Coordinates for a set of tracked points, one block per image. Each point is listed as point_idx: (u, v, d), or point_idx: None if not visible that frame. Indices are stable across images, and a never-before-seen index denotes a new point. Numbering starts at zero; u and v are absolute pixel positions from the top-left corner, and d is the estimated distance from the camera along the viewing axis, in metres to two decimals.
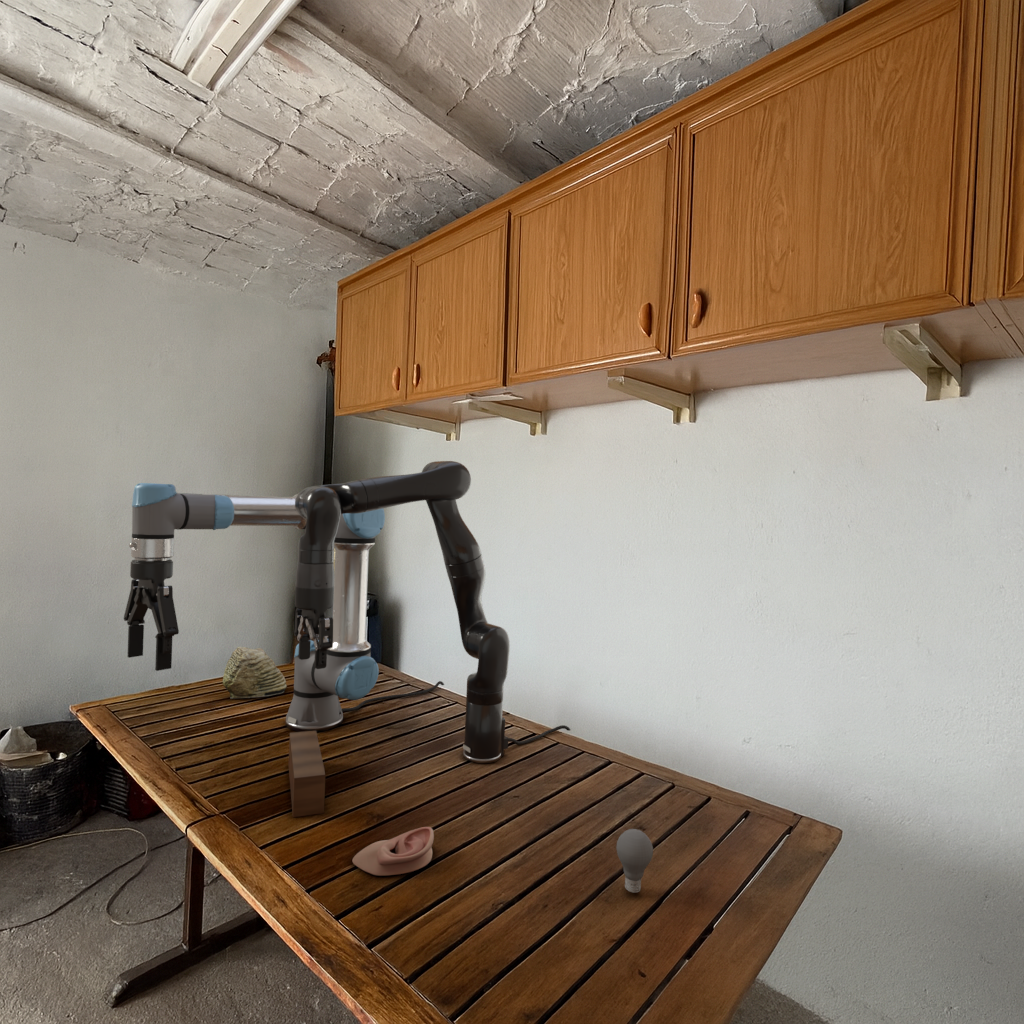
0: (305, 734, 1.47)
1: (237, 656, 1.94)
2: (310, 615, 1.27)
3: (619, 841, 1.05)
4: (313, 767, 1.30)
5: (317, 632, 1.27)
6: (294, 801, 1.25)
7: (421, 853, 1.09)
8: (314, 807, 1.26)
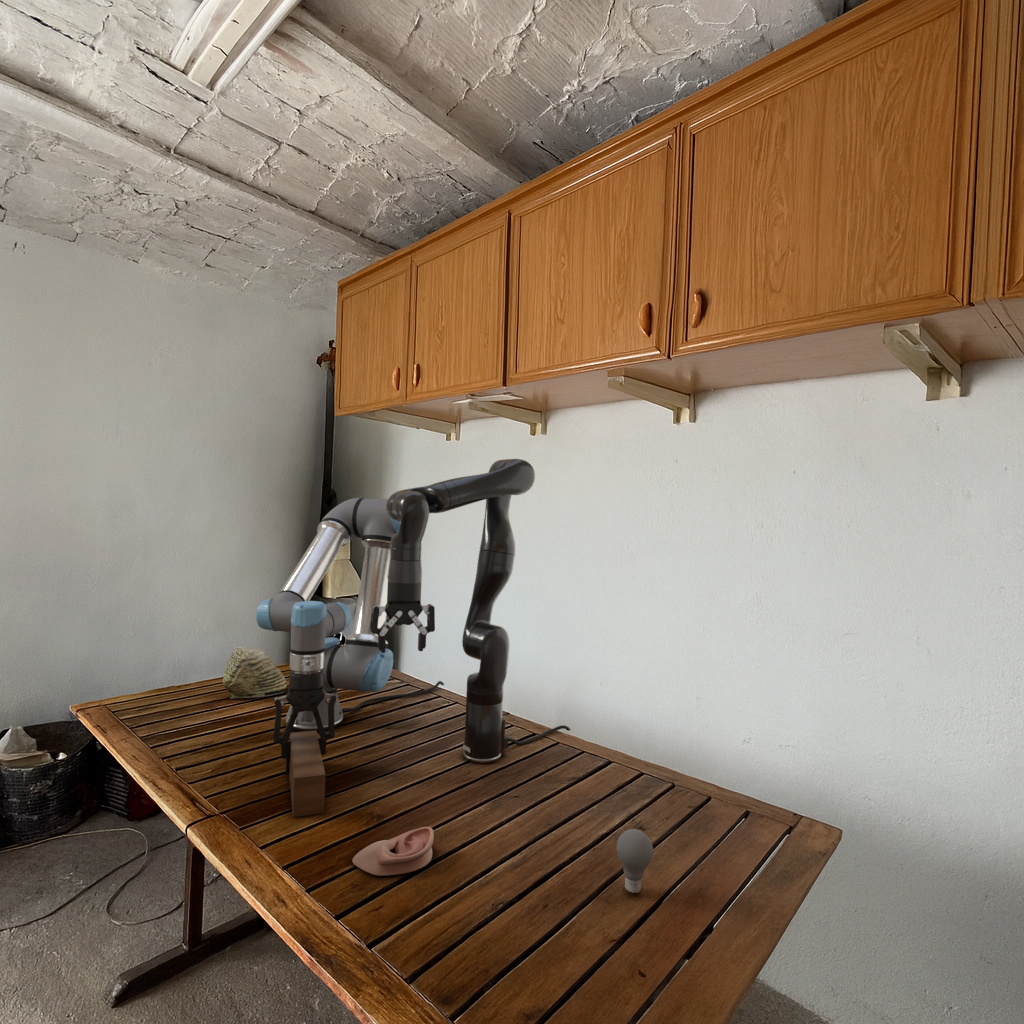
0: (305, 734, 1.47)
1: (237, 656, 1.94)
2: None
3: (619, 841, 1.05)
4: (313, 767, 1.30)
5: None
6: (294, 801, 1.25)
7: (421, 853, 1.09)
8: (314, 807, 1.26)
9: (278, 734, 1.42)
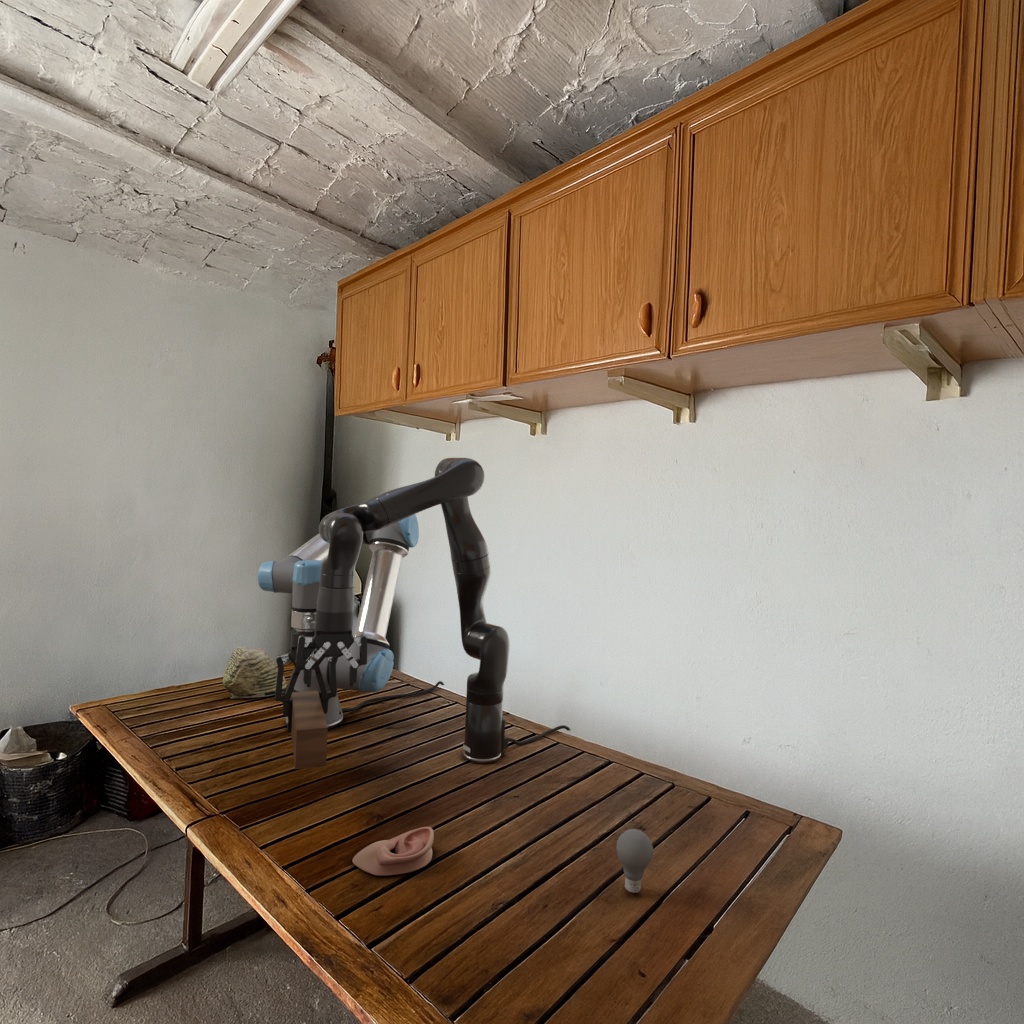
0: (307, 693, 1.47)
1: (237, 656, 1.94)
2: None
3: (619, 841, 1.05)
4: (315, 721, 1.30)
5: None
6: (296, 753, 1.25)
7: (421, 853, 1.09)
8: (316, 760, 1.26)
9: (280, 692, 1.42)
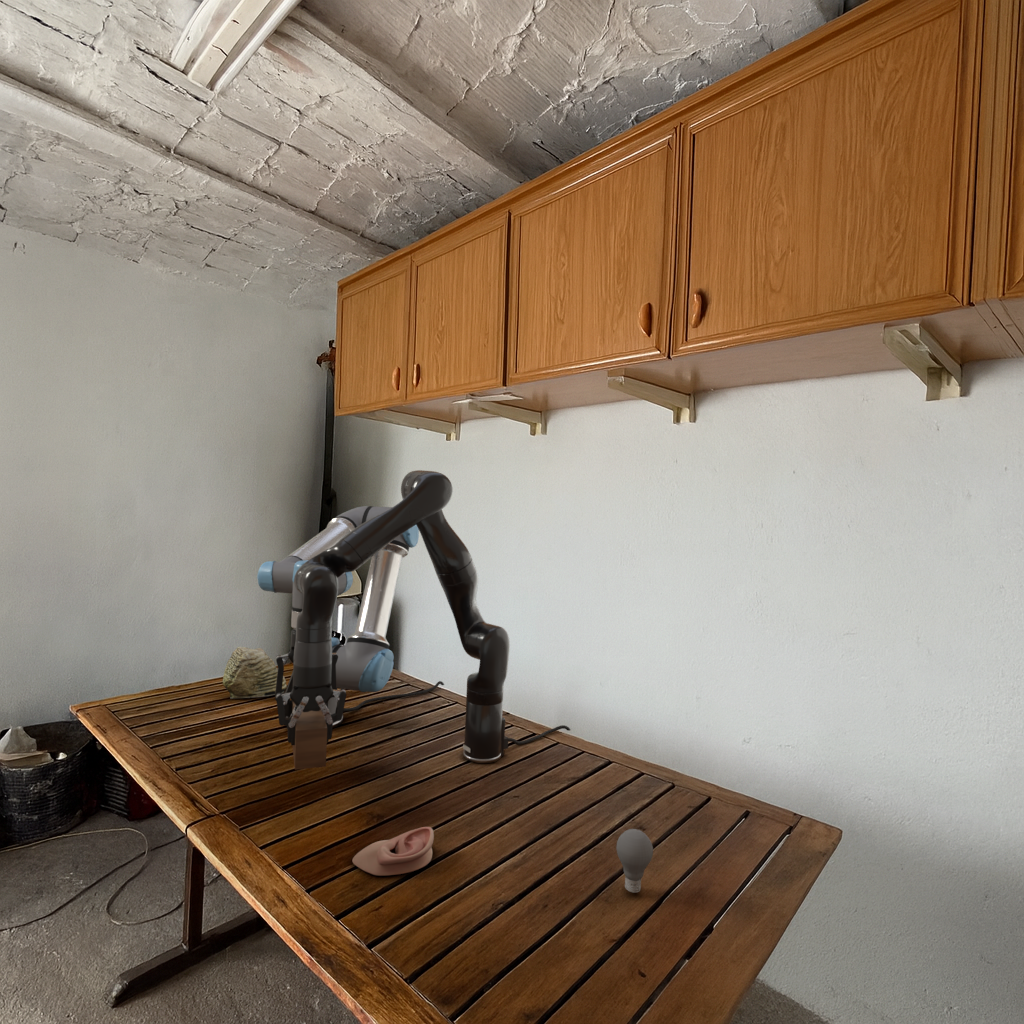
0: None
1: (237, 656, 1.94)
2: None
3: (619, 841, 1.05)
4: (315, 721, 1.30)
5: None
6: (296, 754, 1.25)
7: (421, 853, 1.09)
8: (316, 760, 1.26)
9: (280, 692, 1.42)
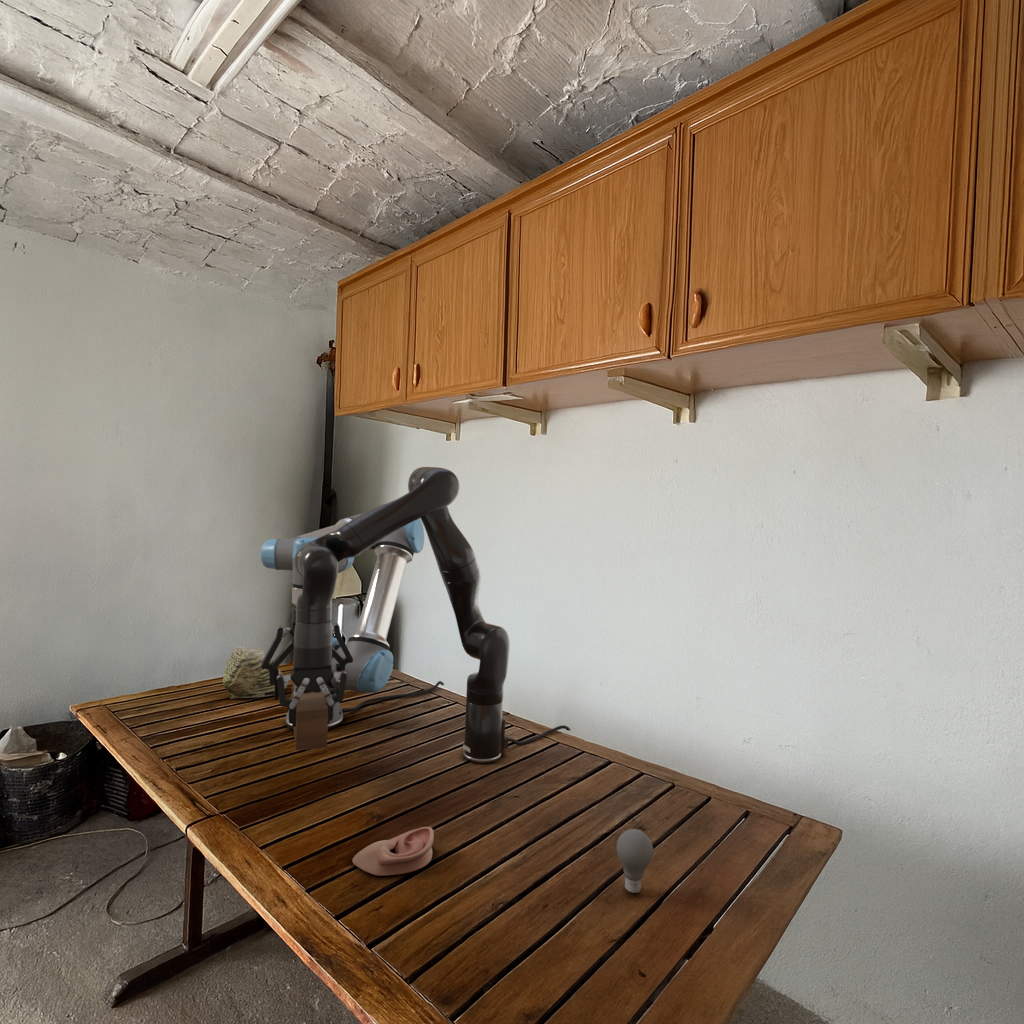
0: None
1: (237, 656, 1.94)
2: None
3: (619, 841, 1.05)
4: (316, 702, 1.30)
5: None
6: (297, 734, 1.25)
7: (421, 853, 1.09)
8: (317, 741, 1.26)
9: (268, 661, 1.43)
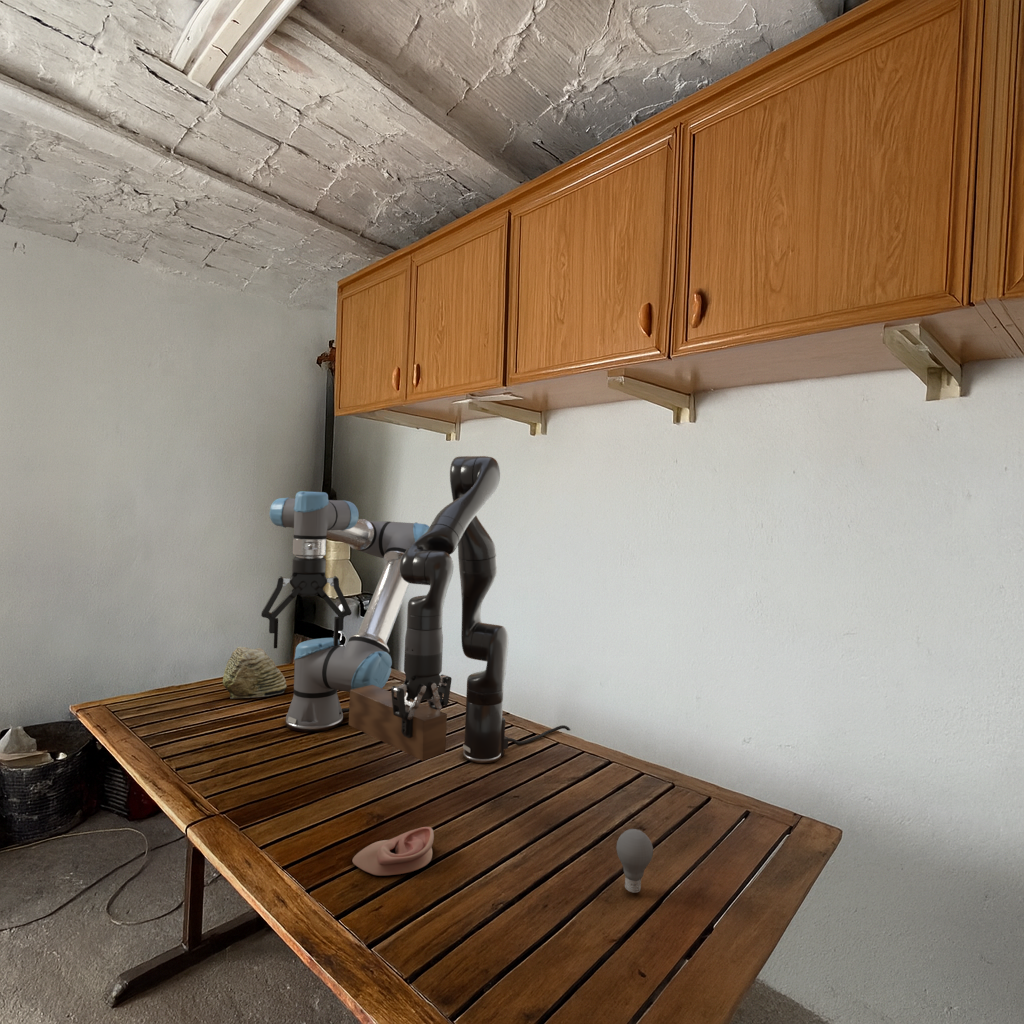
0: (368, 688, 1.39)
1: (237, 656, 1.94)
2: None
3: (619, 841, 1.05)
4: (425, 710, 1.27)
5: (411, 698, 1.25)
6: (424, 744, 1.22)
7: (421, 853, 1.09)
8: (438, 747, 1.25)
9: (268, 609, 1.46)
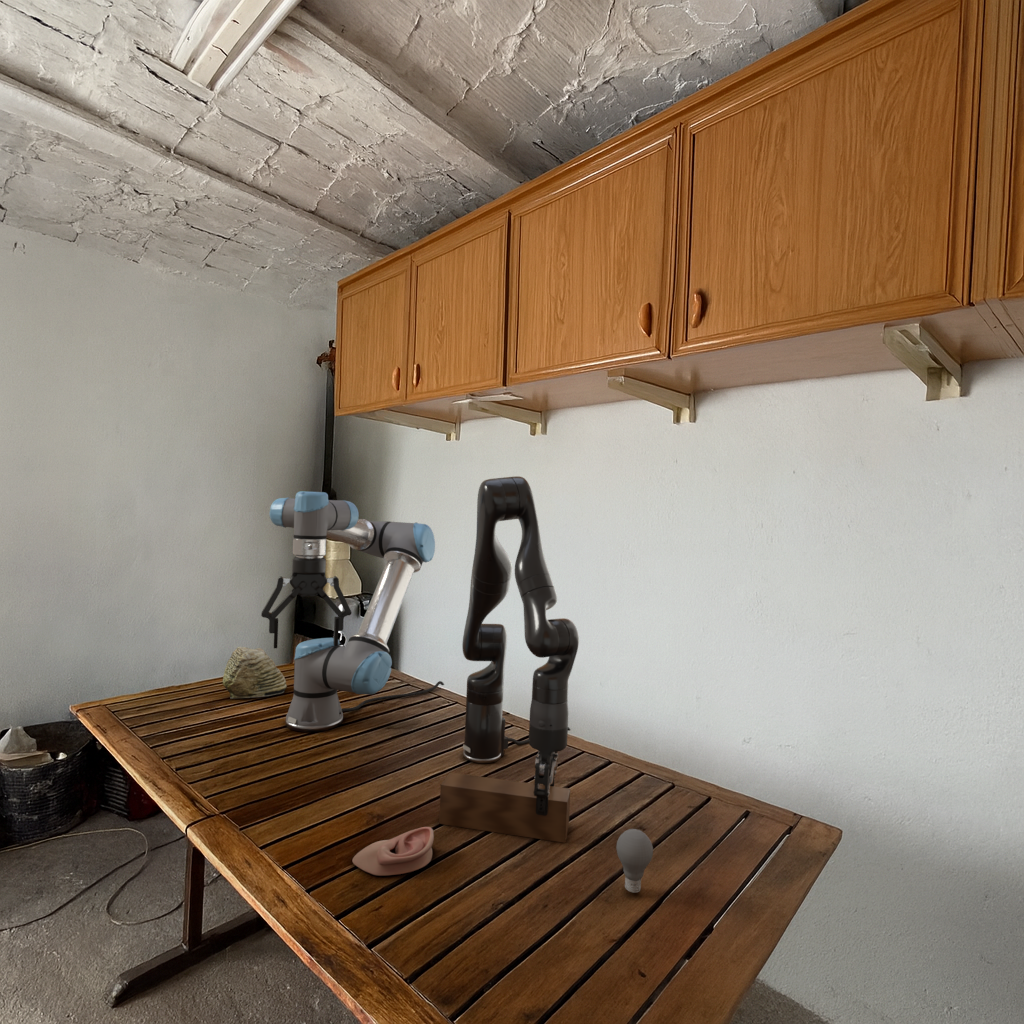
0: (455, 778, 1.28)
1: (237, 656, 1.94)
2: None
3: (619, 841, 1.05)
4: None
5: None
6: (566, 826, 1.20)
7: (421, 853, 1.09)
8: None
9: (268, 609, 1.46)
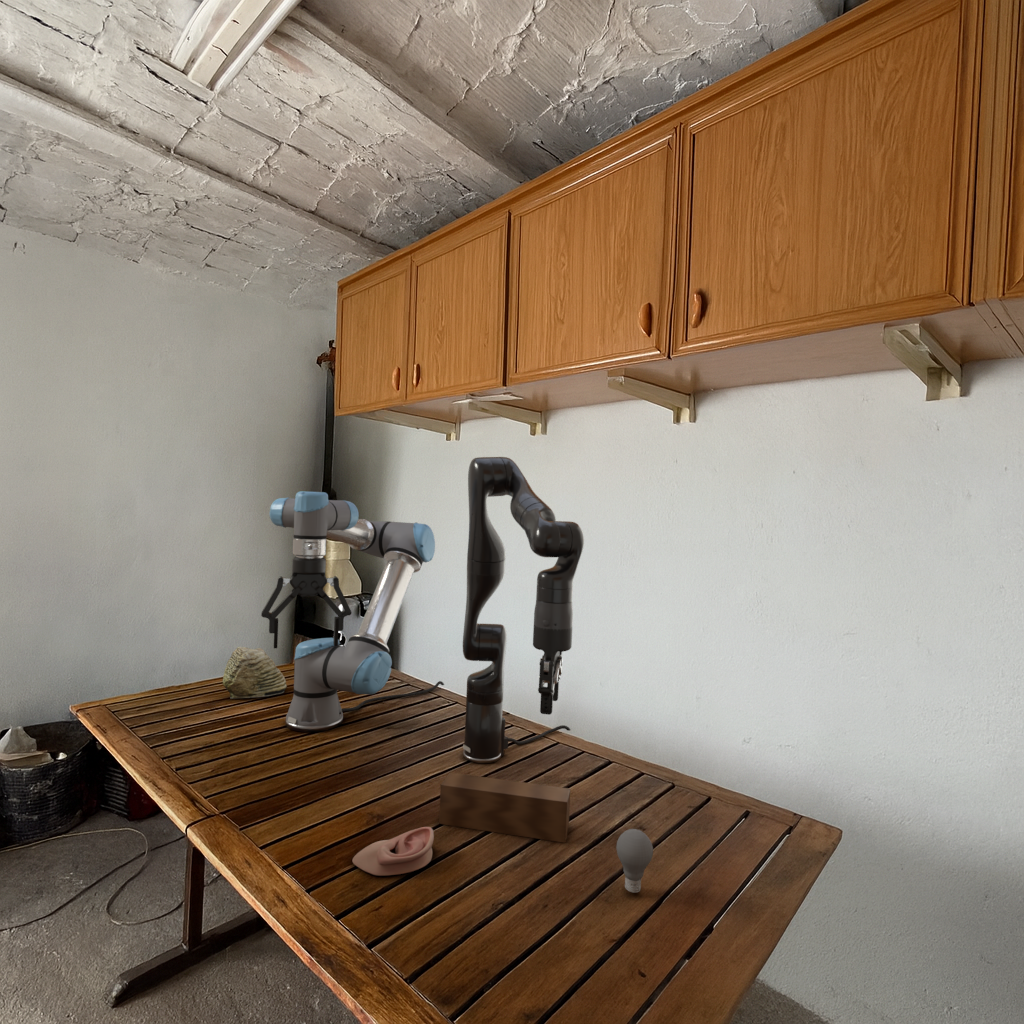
0: (455, 778, 1.28)
1: (237, 656, 1.94)
2: None
3: (619, 841, 1.05)
4: (547, 790, 1.24)
5: None
6: (566, 826, 1.20)
7: (421, 853, 1.09)
8: None
9: (268, 609, 1.46)
